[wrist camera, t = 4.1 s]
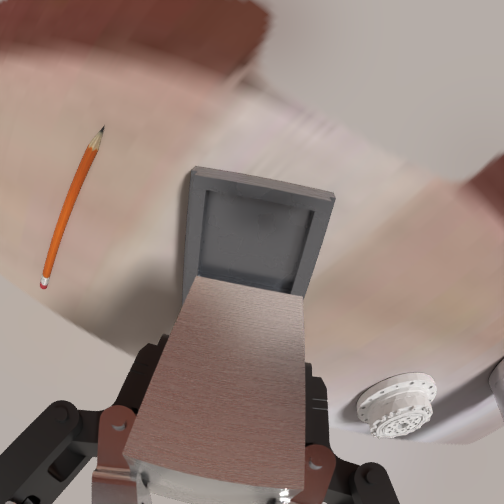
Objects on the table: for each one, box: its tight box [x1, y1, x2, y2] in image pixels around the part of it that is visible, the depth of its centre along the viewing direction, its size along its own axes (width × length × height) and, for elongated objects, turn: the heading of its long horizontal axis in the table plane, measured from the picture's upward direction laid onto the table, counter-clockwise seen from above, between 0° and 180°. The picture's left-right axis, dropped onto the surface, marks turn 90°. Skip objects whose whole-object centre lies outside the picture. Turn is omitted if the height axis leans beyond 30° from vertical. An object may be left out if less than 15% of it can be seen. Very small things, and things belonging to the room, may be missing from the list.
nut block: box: [122, 276, 305, 504], centre depth 10 cm, size 4×4×8 cm
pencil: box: [40, 125, 105, 289], centre depth 22 cm, size 1×19×1 cm, turn 141°
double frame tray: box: [182, 166, 336, 306], centre depth 23 cm, size 9×20×2 cm, turn 170°
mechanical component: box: [357, 372, 437, 439], centre depth 28 cm, size 10×4×10 cm
